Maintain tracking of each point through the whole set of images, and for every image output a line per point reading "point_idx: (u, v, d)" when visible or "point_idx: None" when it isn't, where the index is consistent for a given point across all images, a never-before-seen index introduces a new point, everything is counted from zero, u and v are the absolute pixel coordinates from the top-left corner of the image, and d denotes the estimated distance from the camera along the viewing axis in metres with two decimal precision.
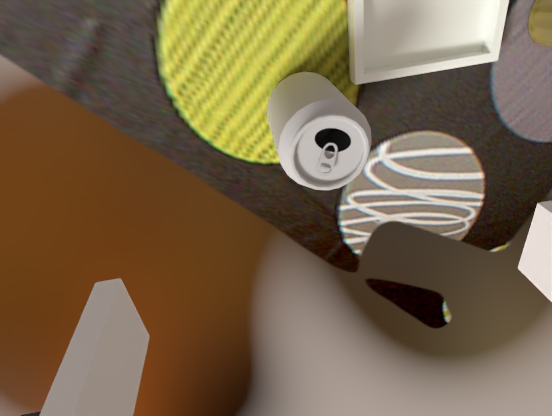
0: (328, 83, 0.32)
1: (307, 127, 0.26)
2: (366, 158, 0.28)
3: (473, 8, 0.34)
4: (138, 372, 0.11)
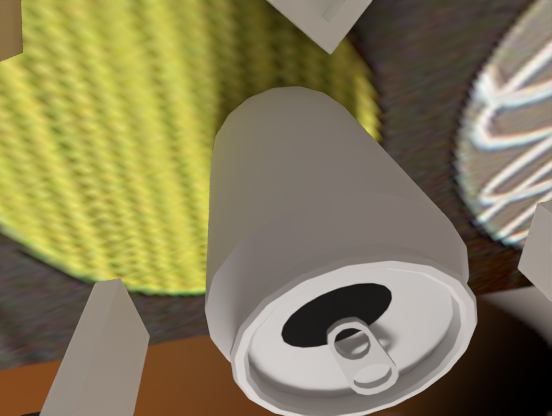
0: (266, 120, 0.13)
1: (241, 360, 0.09)
2: (466, 294, 0.08)
3: None
4: (138, 372, 0.11)
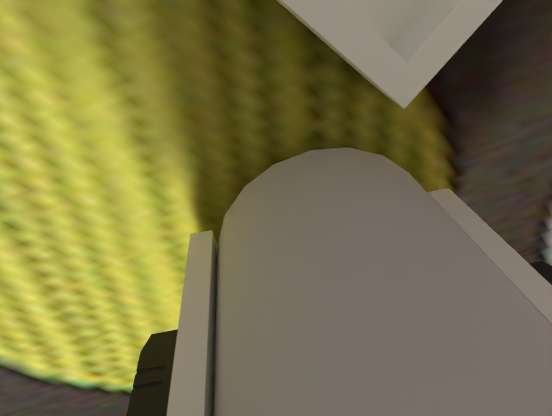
0: (310, 223, 0.08)
1: None
2: None
3: None
4: None
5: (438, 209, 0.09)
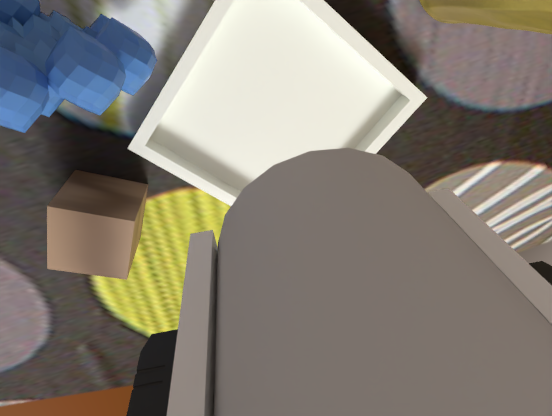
0: (310, 224, 0.08)
1: None
2: None
3: (346, 78, 0.24)
4: None
5: (438, 210, 0.09)
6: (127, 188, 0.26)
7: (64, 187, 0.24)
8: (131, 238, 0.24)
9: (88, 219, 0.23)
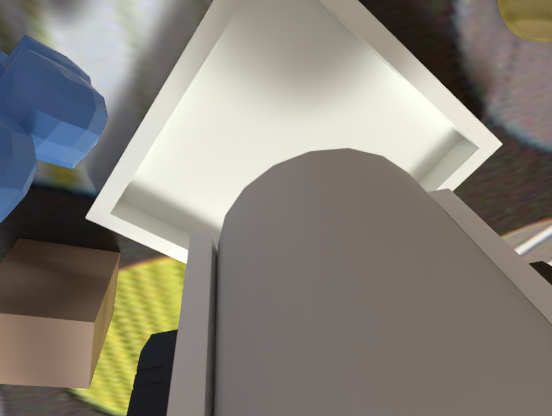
0: (310, 224, 0.08)
1: None
2: None
3: (390, 118, 0.17)
4: None
5: (438, 210, 0.09)
6: (90, 262, 0.19)
7: None
8: (91, 342, 0.17)
9: (27, 323, 0.16)
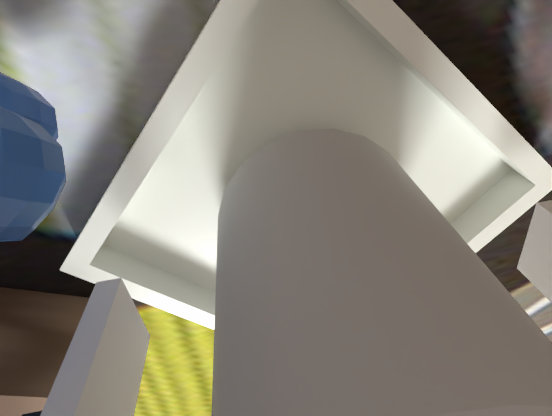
0: (295, 190, 0.10)
1: None
2: None
3: (427, 148, 0.15)
4: (139, 371, 0.11)
5: (408, 181, 0.11)
6: (69, 314, 0.16)
7: None
8: None
9: None
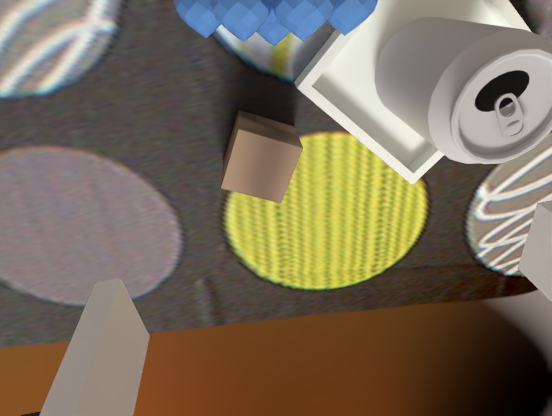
0: (435, 25, 0.24)
1: (460, 105, 0.19)
2: None
3: None
4: (138, 372, 0.11)
5: None
6: (282, 126, 0.30)
7: (240, 119, 0.28)
8: (295, 164, 0.28)
9: (267, 143, 0.27)
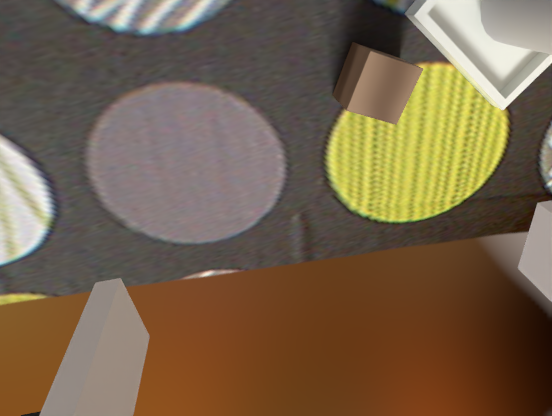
0: None
1: None
2: None
3: None
4: (138, 372, 0.11)
5: None
6: (392, 56, 0.34)
7: (362, 46, 0.31)
8: (414, 84, 0.31)
9: (393, 65, 0.30)
